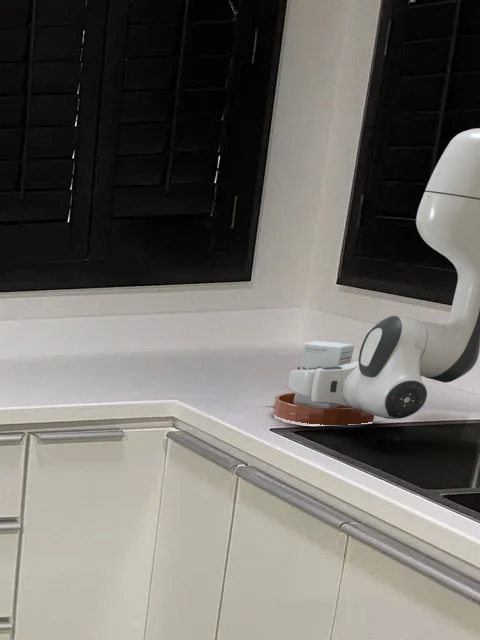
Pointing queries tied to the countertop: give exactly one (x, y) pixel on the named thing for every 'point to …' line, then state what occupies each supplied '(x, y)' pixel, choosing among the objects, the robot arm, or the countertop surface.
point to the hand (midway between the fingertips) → (327, 373)
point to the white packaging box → (323, 364)
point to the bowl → (318, 413)
